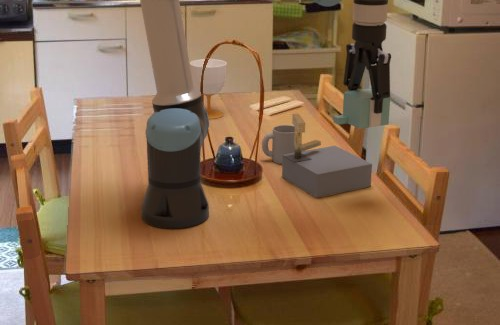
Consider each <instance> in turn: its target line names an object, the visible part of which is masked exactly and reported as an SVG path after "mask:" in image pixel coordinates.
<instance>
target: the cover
mask: <svg viewBox="0 0 500 325" xmlns="http://www.w3.org/2000/svg"><path fill="white" fill-rule="evenodd" d="M377 94H378V93H377ZM372 97H373V95H372V89H371V87H370V88H363V89H362V88H361V89H357V90H354V91H349V90H346V91H343V98H342V99H343V105H342V114H340V115H339V114H338V115H333V123H334V124H335V125H339V126H340V125H346V124H349V125H350V126H351V127H354V128H355V129H359V130H361V129H369V128H370V127H369V113H370V98H372ZM390 106H391V96H390V97H389V98H384V99H383V107H382V113H381V123H380V126H379V127H381V126H388V125H389V124H390V110H391V107H390Z"/></svg>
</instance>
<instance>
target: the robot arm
mask: <svg viewBox="0 0 500 325" xmlns="http://www.w3.org/2000/svg"><path fill="white" fill-rule="evenodd" d="M139 1H140V8H141V12H142V17H143V18H142V20H143V23H144V28H145V29H144V30H145V34H146V35H145V36H146V42H147V46H148V50H149V57H150V62H151V67H152V72H153V77H154V78H153V79H154V84H155V89H156V94H155V95H154V97H153V98H152V99H151V102H152V103H151V104H152V110H153V113H152V114H151V115H150V116H149V117H148V119H147V121H146V126H145V127H146V128H145V138H146V153H147V154H146V155H147V156H146V158H147V180H148V182H147V184H148V185H147V188H146V192H145V194H144V198H143V202H142V205H141V207H140V208H141V219H142V220H143V222H144V223H147V224H148V225H150V226H153V227H156V228H161V229H184V228H185V229H186V228H191V227H195V226H197V225H200V224H202V223H203V222H205V221H206V220H208V218H209V217H210V207H209V206H210V205H209V202H208V200H207V196H206V194H205V191H204V188H203V186H202V181H201V180H202V179H201V173H202V172H201V168H202V167H201V150H202V147H203V144H204V142H205V139H206V137H207V135H208V133H209V128H210V119H209V118H208V114H207V109H206V108H205V106H204V101H203V96H202V95H203V94H201V92H200V91H199V90H197V89H196V88H195V87H194V86H193V80H192V74H191V68H190V62H191V61H190V57H189V52H188V51H189V50H188V45H187V39H186V34H185V27H184V22H183V21H184V20H183V16H182V10H181V4H180V0H139ZM308 1H310V2H314V3H316V4H318V5H319V6H323V7H333V6H336V5H338V4H340V3H341V2H342V1H343V0H308ZM388 3H389V0H353V3H352V4H353V5H352V21H353V24H352V25H351V27H352V30H351V39H352V40H353V41H354V43H348V44H346V46H345V48H346V49H345V50H346V58H345V65H344V74H343V86H346V87H347V89H348V90H347V91H354V90H361V89H362V85H361V82H362V79H363V77H364V74H365V71H366V70H367V71H368V75H369V82H370V86H371V87H370V88H371V89H372V95H373V97H372V98H370V113H369V128H374V127H375V128H376V127H381V126H380V123H381V113H382V107H383V99H384V98H389V97H390V98H391V78H390V77H391V71H390V70H391V68H390V67H391V66H390V63H391V60H392V59H391V58H392V54H391V53H390V52H389V53H386V52H385V51H383V45H382V44H383V42H384V41H386V39H387V27H388V26H387V24H386V22H387V21H388V20H387V19H388V7H389V6H388ZM377 93H378V94H377Z"/></svg>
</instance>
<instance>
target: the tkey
mask: <svg viewBox="0 0 500 325" xmlns="http://www.w3.org/2000/svg"><path fill="white" fill-rule="evenodd" d="M291 117H292V122H291V123H292V126H295V143H294V158H301V152H303V151H307V150H312V149H313V148H314V149H315V148H317V147H320V146H321V145H322V141H321V140H318V139H314V140H311V141H307V142H305V143H303V133H306V122H305V120H304V119H303V117H302V116H301V114H300V113H292V116H291Z"/></svg>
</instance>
